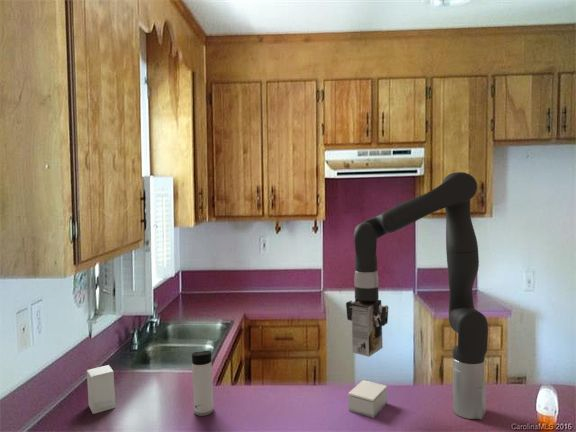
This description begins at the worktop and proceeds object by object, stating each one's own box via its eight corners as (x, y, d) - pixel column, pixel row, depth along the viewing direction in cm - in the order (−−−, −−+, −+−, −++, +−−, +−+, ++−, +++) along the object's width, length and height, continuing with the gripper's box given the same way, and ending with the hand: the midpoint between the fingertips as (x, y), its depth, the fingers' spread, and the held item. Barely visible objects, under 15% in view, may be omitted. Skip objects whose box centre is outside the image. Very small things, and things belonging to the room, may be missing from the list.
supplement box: (116, 407, 148) (114, 371, 147) (92, 414, 144) (90, 377, 143) (111, 399, 154) (109, 364, 153) (88, 405, 150) (86, 369, 149)
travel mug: (195, 418, 140) (192, 356, 139) (193, 408, 146) (190, 349, 145) (214, 414, 142) (212, 353, 140) (212, 405, 148) (210, 346, 147)
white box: (387, 403, 146) (386, 388, 146) (373, 418, 137) (373, 402, 137) (363, 396, 151) (363, 382, 150) (348, 410, 142) (348, 395, 141)
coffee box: (365, 344, 148) (364, 297, 147) (383, 348, 144) (382, 299, 143) (351, 352, 141) (350, 303, 140) (369, 357, 137) (368, 306, 136)
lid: (386, 387, 146) (386, 385, 145) (373, 401, 136) (373, 399, 136) (363, 381, 150) (363, 380, 150) (348, 394, 141) (348, 392, 141)
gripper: (340, 284, 142) (341, 335, 143) (382, 289, 134) (383, 343, 135) (351, 280, 148) (352, 328, 149) (392, 284, 140) (393, 335, 141)
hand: (367, 335), depth 142 cm, fingers closed on coffee box, 6 cm apart
